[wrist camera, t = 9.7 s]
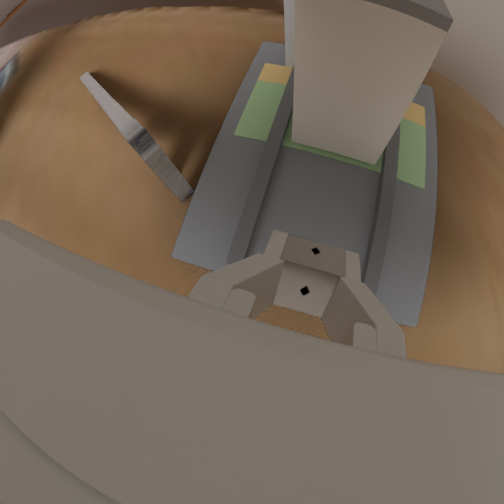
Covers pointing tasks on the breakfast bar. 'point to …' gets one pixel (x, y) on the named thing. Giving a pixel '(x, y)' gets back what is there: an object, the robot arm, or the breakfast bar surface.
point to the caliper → (140, 140)
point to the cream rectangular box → (360, 69)
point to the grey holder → (316, 188)
